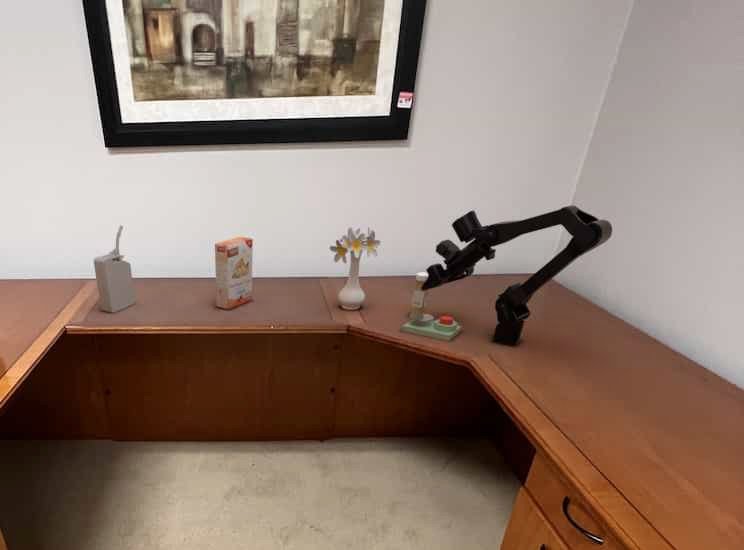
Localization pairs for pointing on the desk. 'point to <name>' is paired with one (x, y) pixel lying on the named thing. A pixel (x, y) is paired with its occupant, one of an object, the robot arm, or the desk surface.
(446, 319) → the button
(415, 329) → the warmer
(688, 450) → the desk surface
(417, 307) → the sprinkles bottle
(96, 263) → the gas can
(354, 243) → the flower vase
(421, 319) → the plate
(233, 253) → the cracker box
